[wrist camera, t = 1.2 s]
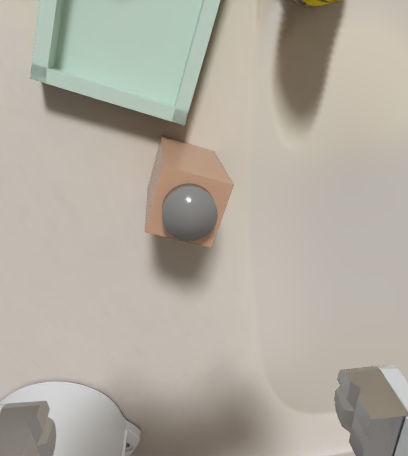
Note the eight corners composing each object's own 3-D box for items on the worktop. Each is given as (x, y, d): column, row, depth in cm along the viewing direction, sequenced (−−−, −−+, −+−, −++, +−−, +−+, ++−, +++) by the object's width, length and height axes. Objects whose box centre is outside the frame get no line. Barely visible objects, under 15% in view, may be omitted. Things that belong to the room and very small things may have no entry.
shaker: (198, 200, 33) (213, 256, 24) (147, 187, 32) (143, 240, 23) (214, 151, 32) (237, 191, 22) (161, 135, 31) (163, 170, 21)
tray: (182, 120, 30) (184, 125, 28) (40, 76, 28) (30, 78, 25) (235, -69, 25) (243, -81, 23) (69, -142, 23) (59, -163, 21)
